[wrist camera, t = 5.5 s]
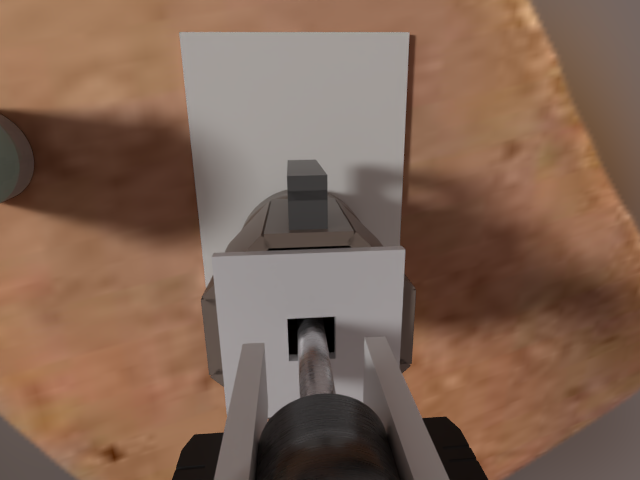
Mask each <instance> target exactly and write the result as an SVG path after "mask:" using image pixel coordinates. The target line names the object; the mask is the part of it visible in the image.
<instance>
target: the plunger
mask: <svg viewBox="0 0 640 480" xmlns="http://www.w3.org/2000/svg"><path fill="white" fill-rule="evenodd" d="M297 337H298V363H299V390H300V398H299V399H297V400H294V401H292V402H290V403H288V404H287V405H285V406H284V407H282V408H281V409H280V410H278V411H277V412H276V413H275V414H274V415H273V416H272V417H271V418H270V419H269V421H268V422H267V423H266V425H265V427H264V429H263V431H262V433H261V436H260V439H259V445H258V455H257V466H256V476H255V480H401V479H400V475H399V472H398V469H397V466H396V463H395V459H394V456H393V453H392V450H391V447H390V443H389V440H388V437H387V434H386V431H385V428H384V425H383V423H382V421H381V420H380V418H379V417H378V415H377V414H376V413H375V412H374V411H373V410H372V409H371V408H370V407H369V406H367V405H366V404H364V403H363V402H361V401H359V400H357V399H354V398H352V397H349V396H345V395H340V394H336V392H335V386H334V380H333V374H332V369H331V363H330V357H329V351H328V345H327V339H326V333H325V328H324V322H323V317H316V318H297Z"/></svg>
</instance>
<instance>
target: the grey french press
mask: <svg viewBox="0 0 640 480" xmlns="http://www.w3.org/2000/svg"><path fill="white" fill-rule="evenodd" d="M212 267H213V276H212V278H211V280H210V282H209V284H208V286H207V288H206V290H205V292H204V294H203V296H202V299H201V304H202V314H203V323H204V332H205V341H206V350H207V359H208V368H209V375H211V378H212V379H214V380H215V381H216V382H218V383H219V384H221V385H222V386H223V387H224V390H225V400H226V410H227V415H228V411H229V406H230V401H231V396H232V392H233V387H234V382H235V378H236V373H237V368H238V363H239V359H240V354H241V349H242V345H243V344H248V343H264V345H265V361H266V377H267V393H268V419H270V418H271V417H272V416H273V415H274V414H275V413H276V412H277V411H278V410H280V409H281V408H282V407H284V406H285V405H287V404H288V403H290V402H292V401H294V400H297V399H299V398H300V390H299V363H298V337H297V318H316V317H323V322H324V328H325V333H326V339H327V345H328V351H329V357H330V363H331V369H332V374H333V380H334V386H335V392H336V394H340V395H345V396H349V397H352V398H354V399H357V400H359V401H361V402H363V383H364V337H383V336H385V337H386V339H387V341H388V344H389V346H390V348H391V350H392V353H393V355H394V357H395V359H396V362H397V364H398V366H399V368H400V370H401V373H403V372H404V371H405V370H406V369H407V368H409V367H410V364H412V349H413V332H414V315H415V298H416V289H415V287H414V286H413V284H412V283H411V282H410V280H409V279H408V278H407V277H406V275H405V274H404V267H405V249H404V248H403V247H402V246H386V247H384V246H383V245H382V244H381V243H380V241H379V240H378V239H377V238H376V237H375V236H374V235H373V234H372V233H371V232H370V231H369V230H368V229H367V228H366V227H365V226H364V225H363V224H362V223H361V222H360V221H359V219H358V218H357V216H356V215H355V214H354V212H353V211H352V210H351V209H350V208H349V207H348V205H346V204H345V203H344V202H343V201H342V200H340V199H339V198H337V197H336V196H334V195H332V194H330V193H328V192H327V174H326V173H325V171H324V170H323V168H322V167H321V166H320V164H319V163H318V162H317V160H288V163H287V190H283V191H281V192H278V193H275V194H273V195H272V196H270V197H268V198H266V199H265V200H264V201H262V202H261V203H260V204H259V205H258V206H257V207H255V209H254V210H253V211H252V212H251V213H250V215H249V216H248V218H247V220H246V221H245V223H244V225H243V228H242V230H241V231H240V232H239V233H238V234H237V236H236V237H235V238H234V239H233V240H232V241H231V242H230V243H229V244H228V246H227V248H226V250H225V252H221V253H213V255H212Z"/></svg>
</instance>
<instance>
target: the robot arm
mask: <svg viewBox="0 0 640 480" xmlns="http://www.w3.org/2000/svg"><path fill="white" fill-rule="evenodd" d="M363 403H364V404H366V405H367V406H369V407H370V408H371V409H372V410H373V411H374V412H375V413H376V414H377V415H378V417H379V418H380V420H381V421H382V423H383V425H384V428H385V431H386V434H387V437H388V440H389V443H390V447H391V450H392V453H393V456H394V459H395V463H396V466H397V469H398V472H399V475H400V479H401V480H488V478H487V477H486V475H485V473H484V471H483V469H482V468H481V466H480V464H479V462H478V461H476V457H475V455H474V453H473V451H472V450H471V448H469V444H468V442H467V441H466V439H465V437H464V435H463V434H462V432H461V430H460V429H459V428H458V427H457V426H456V425H455V424H454V423H452V422H451V421H450V420H449V419H448V418H447V417H433V418H422V417H421V415H420V413H419V411H418V408H417V406H416V404H415V402H414V399H413V397H412V395H411V393H410V391H409V388H408V386H407V384H406V382H405V379H404V377H403V375H402V373H401V370H400V368H399V366H398V364H397V362H396V359H395V357H394V355H393V353H392V350H391V348H390V346H389V344H388V341H387V339H386V337H385V336H383V337H364V383H363ZM267 419H268V393H267V377H266V361H265V345H264V343H248V344H243V345H242V349H241V354H240V359H239V363H238V368H237V373H236V378H235V382H234V387H233V392H232V396H231V401H230V406H229V411H228V415H227V420H226V425H225V429H224V433H211V434H196V435H194V436H193V437H192V438H191V439H190V441H189V442H188V443H187V444H186V445H185V447H184V448H183V449H182V451H181V454H180V457H179V460H178V463H177V466H176V471H175V472H174V475H173V478H172V480H255V476H256V466H257V455H258V445H259V439H260V436H261V433H262V431H263V429H264V427H265V425H266V423H267Z"/></svg>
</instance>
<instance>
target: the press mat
mask: <svg viewBox="0 0 640 480" xmlns="http://www.w3.org/2000/svg"><path fill="white" fill-rule="evenodd" d="M179 34H180V44H181V53H182V63H183V72H184V82H185V92H186V101H187V111H188V120H189V130H190V139H191V149H192V158H193V168H194V178H195V187H196V197H197V206H198V216H199V225H200V235H201V244H202V254H203V264H204V273H205V283H206V288H207V286H208V284H209V282H210V280H211V278H212V276H213V267H212V255H213V253H221V252H225V250H226V248H227V246H228V244H229V243H230V242H231V241H232V240H233V239H234V238H235V237H236V236H237V234H238V233H239V232H240V231H241V230H242V228H243V225H244V223H245V221H246V220H247V218H248V216H249V215H250V213H251V212H252V211H253V210H254V209H255V207H257V206H258V205H259V204H260V203H261V202H262V201H264V200H265V199H266V198H268V197H270V196H272V195H273V194H275V193H278V192H281V191H283V190H287V163H288V160H317V162H318V163H319V164H320V166H321V167H322V168H323V170H324V171H325V173H326V174H327V192H328V193H330V194H332V195H334V196H336V197H337V198H339V199H340V200H342V201H343V202H344V203H345V204H346V205H348V207H349V208H350V209H351V210H352V211H353V212H354V214H355V215H356V216H357V218H358V219H359V221H360V222H361V223H362V224H363V225H364V226H365V227H366V228H367V229H368V230H369V231H370V232H371V233H372V234H373V235H374V236H375V237H376V238H377V239H378V240H379V241H380V243H381V244H382V245H383V246H384V247H386V246H400V230H401V208H402V186H403V164H404V142H405V120H406V98H407V76H408V54H409V32H179Z"/></svg>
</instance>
